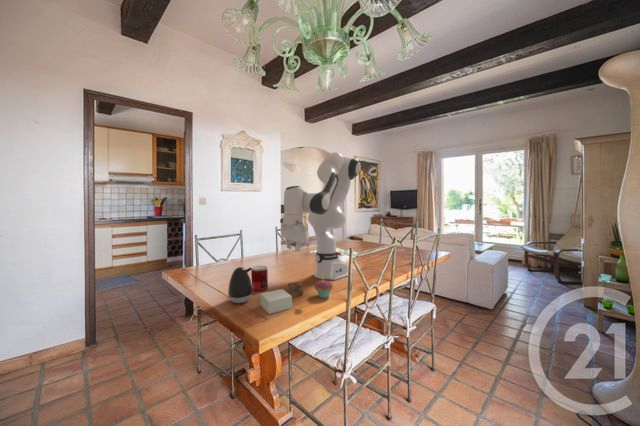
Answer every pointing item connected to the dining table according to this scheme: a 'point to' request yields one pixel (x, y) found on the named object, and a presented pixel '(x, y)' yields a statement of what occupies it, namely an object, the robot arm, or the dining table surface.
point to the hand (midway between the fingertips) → (293, 249)
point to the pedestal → (276, 301)
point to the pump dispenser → (240, 286)
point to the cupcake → (323, 288)
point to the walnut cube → (295, 289)
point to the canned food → (259, 278)
